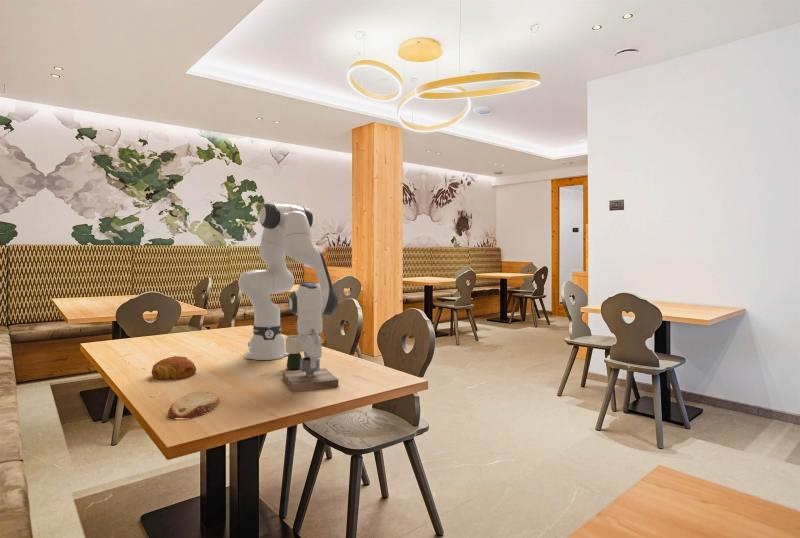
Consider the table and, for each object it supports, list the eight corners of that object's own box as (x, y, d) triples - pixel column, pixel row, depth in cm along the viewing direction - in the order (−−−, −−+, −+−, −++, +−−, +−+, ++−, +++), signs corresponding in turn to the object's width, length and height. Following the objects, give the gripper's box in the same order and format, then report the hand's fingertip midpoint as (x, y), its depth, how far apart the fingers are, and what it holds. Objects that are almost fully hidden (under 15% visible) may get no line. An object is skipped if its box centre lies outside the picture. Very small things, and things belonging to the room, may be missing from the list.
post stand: (283, 378, 176) (282, 361, 176) (324, 374, 183) (324, 357, 183) (292, 391, 160) (292, 372, 160) (338, 386, 167) (338, 368, 166)
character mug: (310, 369, 191) (310, 336, 190) (296, 372, 185) (296, 339, 184) (293, 364, 197) (293, 333, 197) (279, 368, 192) (278, 336, 191)
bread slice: (208, 395, 157) (208, 384, 157) (236, 407, 145) (236, 395, 145) (151, 408, 144) (151, 396, 144) (176, 423, 132) (176, 410, 132)
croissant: (145, 383, 177) (142, 362, 176) (181, 368, 191) (178, 349, 190) (170, 387, 170) (167, 366, 169) (206, 371, 184) (203, 352, 183)
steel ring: (299, 368, 173) (299, 357, 173) (316, 367, 175) (316, 356, 175) (303, 372, 167) (303, 361, 167) (320, 371, 170) (320, 360, 169)
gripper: (326, 331, 162) (326, 371, 163) (311, 322, 181) (312, 358, 182) (307, 332, 160) (308, 373, 160) (295, 323, 179) (295, 360, 179)
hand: (310, 365), depth 171 cm, fingers closed on steel ring, 6 cm apart
